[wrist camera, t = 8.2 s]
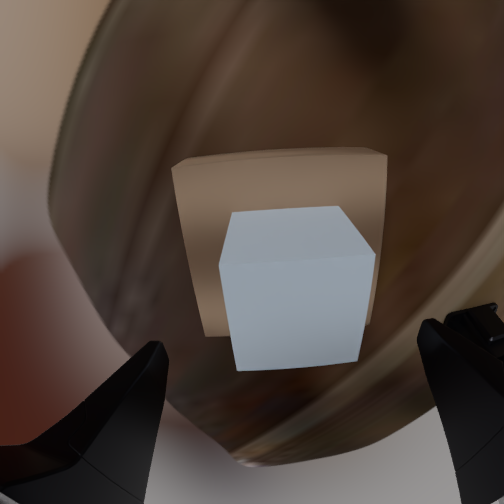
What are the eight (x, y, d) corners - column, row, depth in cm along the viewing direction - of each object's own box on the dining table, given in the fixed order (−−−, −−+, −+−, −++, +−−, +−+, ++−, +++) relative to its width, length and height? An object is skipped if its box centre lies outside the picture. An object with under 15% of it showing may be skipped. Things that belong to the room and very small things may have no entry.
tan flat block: (356, 296, 19) (369, 324, 16) (211, 307, 20) (205, 336, 17) (365, 147, 15) (387, 155, 12) (186, 158, 15) (171, 168, 13)
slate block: (334, 293, 16) (357, 361, 11) (242, 300, 16) (237, 370, 11) (338, 205, 13) (375, 254, 9) (232, 212, 14) (218, 264, 9)
